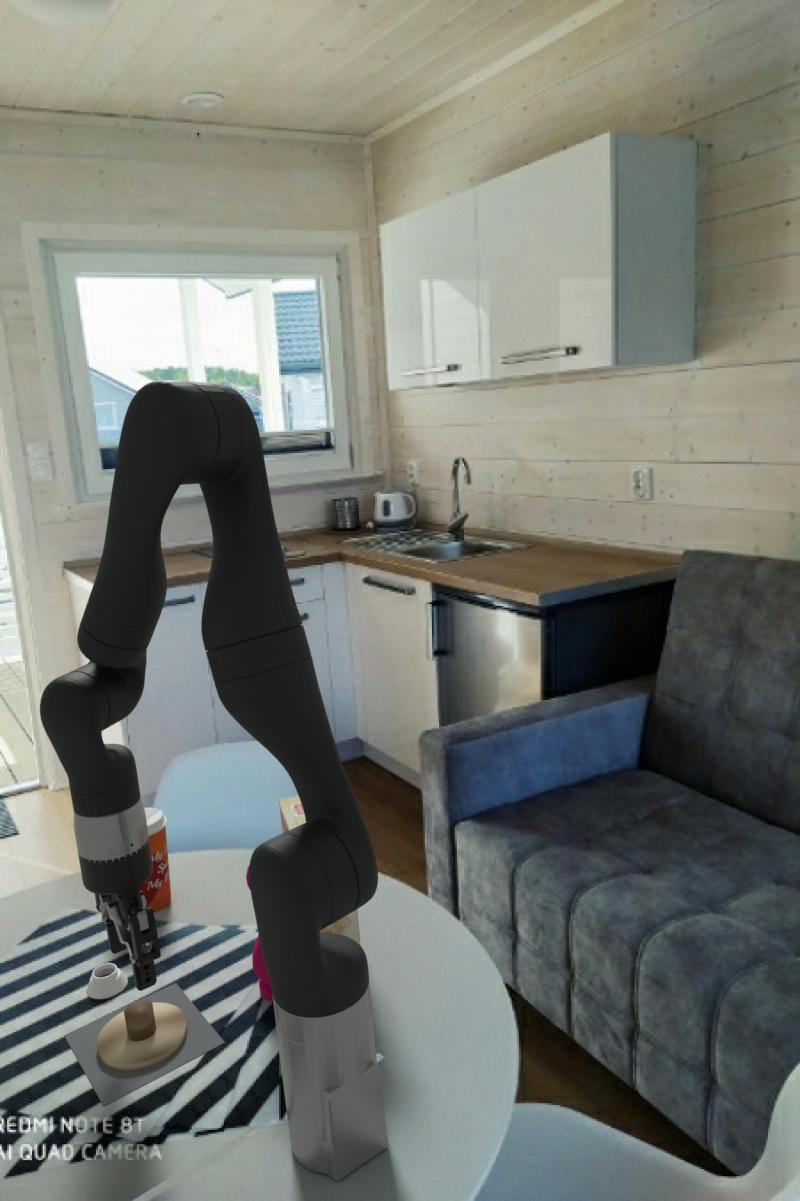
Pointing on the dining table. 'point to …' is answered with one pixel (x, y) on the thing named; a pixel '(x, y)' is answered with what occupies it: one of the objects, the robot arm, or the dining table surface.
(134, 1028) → the lid
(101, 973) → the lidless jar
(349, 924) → the coffeecake box
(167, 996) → the mat
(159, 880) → the paper cup
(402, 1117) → the dining table surface
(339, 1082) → the robot arm
